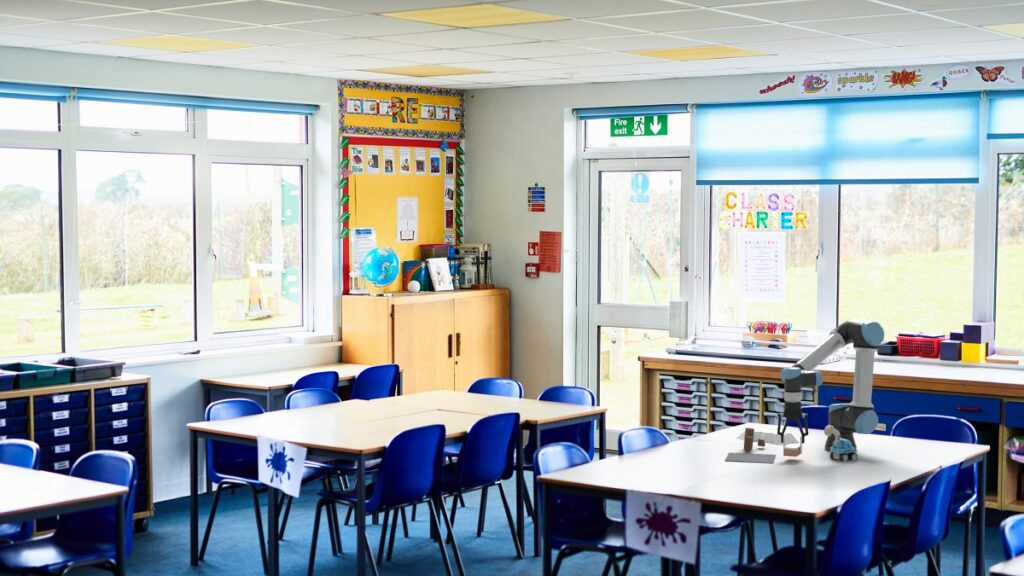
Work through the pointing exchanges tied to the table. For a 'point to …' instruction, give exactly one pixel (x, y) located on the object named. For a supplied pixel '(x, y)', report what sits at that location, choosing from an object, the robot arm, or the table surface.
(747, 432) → the wooden block set
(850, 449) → the toy excavator
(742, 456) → the rubber mat
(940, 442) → the table surface
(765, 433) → the paper sheets
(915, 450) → the table surface
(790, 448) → the card deck
